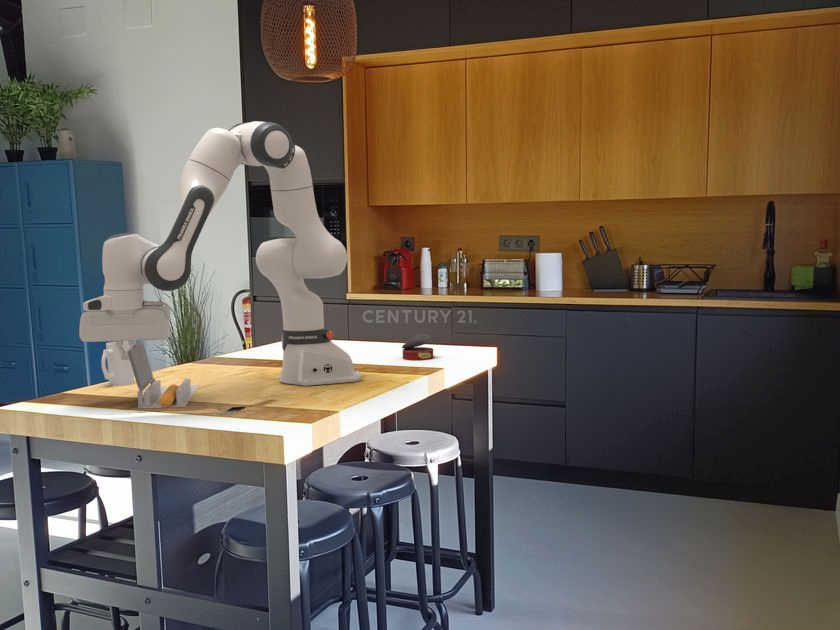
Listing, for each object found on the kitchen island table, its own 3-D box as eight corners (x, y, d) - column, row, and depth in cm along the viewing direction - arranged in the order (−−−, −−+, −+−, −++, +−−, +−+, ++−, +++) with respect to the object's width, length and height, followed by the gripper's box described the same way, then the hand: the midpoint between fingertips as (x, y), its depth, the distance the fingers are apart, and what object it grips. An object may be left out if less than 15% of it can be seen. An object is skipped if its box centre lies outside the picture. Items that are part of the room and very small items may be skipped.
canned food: (407, 375, 251) (392, 348, 250) (412, 366, 261) (397, 340, 260) (438, 359, 249) (423, 331, 248) (442, 350, 258) (427, 324, 257)
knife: (226, 419, 174) (204, 418, 175) (226, 424, 174) (205, 423, 175) (267, 395, 195) (248, 394, 196) (267, 399, 195) (248, 398, 196)
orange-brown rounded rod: (178, 397, 196) (181, 386, 196) (170, 408, 184) (174, 395, 184) (166, 394, 195) (169, 383, 195) (157, 405, 183) (161, 392, 183)
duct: (198, 388, 211) (198, 370, 210) (185, 410, 184) (184, 389, 184) (157, 390, 209) (156, 372, 208) (138, 412, 183) (136, 391, 182)
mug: (121, 383, 220) (119, 340, 219) (140, 385, 217) (138, 341, 216) (93, 390, 211) (90, 345, 210) (113, 392, 208) (110, 346, 207)
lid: (142, 342, 197) (139, 342, 197) (130, 350, 182) (126, 351, 182) (154, 380, 199) (150, 380, 198) (142, 391, 184) (139, 392, 184)
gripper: (171, 299, 193) (173, 356, 195) (83, 301, 190) (86, 358, 192) (167, 301, 187) (169, 360, 188) (75, 303, 184) (78, 362, 186)
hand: (126, 359), depth 190 cm, fingers closed
